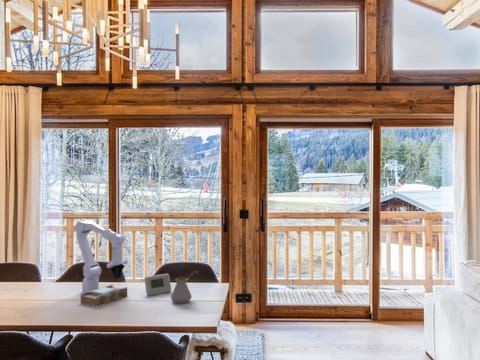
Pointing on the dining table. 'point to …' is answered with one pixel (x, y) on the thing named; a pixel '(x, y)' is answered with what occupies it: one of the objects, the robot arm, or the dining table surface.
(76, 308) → the dining table surface
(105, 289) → the lid plate
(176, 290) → the coffee pot
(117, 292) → the slide box
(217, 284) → the dining table surface
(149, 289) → the digital clock
